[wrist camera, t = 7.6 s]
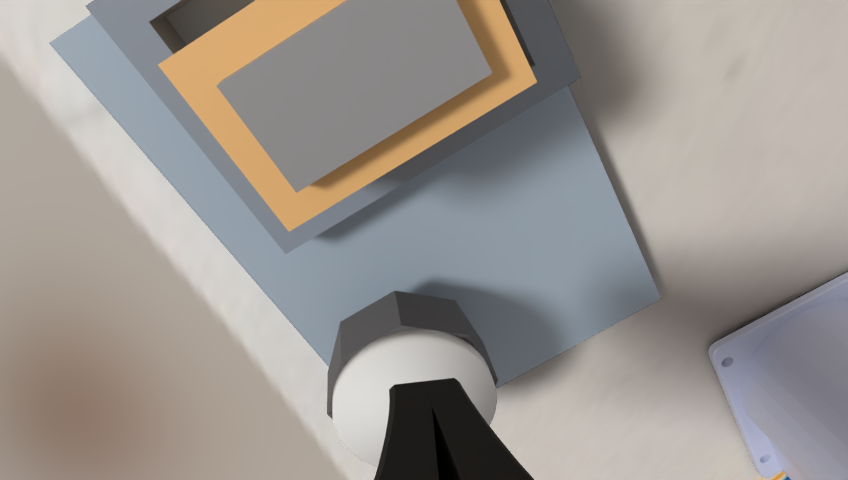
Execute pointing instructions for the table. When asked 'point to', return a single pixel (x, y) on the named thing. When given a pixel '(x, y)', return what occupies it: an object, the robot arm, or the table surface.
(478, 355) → the wheel
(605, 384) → the table surface
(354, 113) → the tan oblong block
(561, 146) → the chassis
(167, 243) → the table surface
